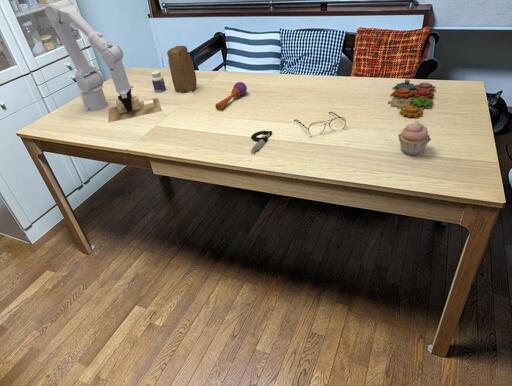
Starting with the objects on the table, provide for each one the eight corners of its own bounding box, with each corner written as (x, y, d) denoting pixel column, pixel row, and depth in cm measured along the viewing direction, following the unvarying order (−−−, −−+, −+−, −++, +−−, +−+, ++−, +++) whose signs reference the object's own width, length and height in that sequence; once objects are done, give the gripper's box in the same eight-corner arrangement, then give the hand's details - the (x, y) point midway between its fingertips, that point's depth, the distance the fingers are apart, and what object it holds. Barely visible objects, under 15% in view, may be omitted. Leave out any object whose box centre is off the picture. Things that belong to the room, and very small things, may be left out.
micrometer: (256, 131, 136) (256, 125, 134) (274, 134, 133) (273, 128, 131) (236, 151, 125) (236, 145, 124) (255, 155, 122) (254, 148, 121)
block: (186, 96, 170) (176, 51, 158) (173, 94, 173) (163, 50, 161) (200, 87, 177) (192, 44, 165) (188, 85, 180) (179, 43, 168)
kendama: (210, 101, 152) (236, 80, 165) (215, 114, 156) (240, 92, 168) (221, 100, 149) (246, 79, 161) (226, 113, 152) (250, 91, 164)
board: (109, 124, 153) (108, 122, 152) (109, 110, 165) (108, 108, 164) (162, 113, 157) (161, 110, 156) (158, 99, 169) (158, 97, 169)
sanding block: (119, 114, 157) (116, 103, 154) (119, 110, 161) (115, 99, 158) (141, 109, 159) (137, 98, 156) (140, 106, 162) (137, 95, 159)
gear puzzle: (431, 122, 129) (433, 111, 126) (383, 118, 135) (384, 107, 132) (434, 88, 151) (436, 78, 149) (393, 86, 157) (394, 76, 154)
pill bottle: (165, 94, 174) (160, 73, 168) (154, 95, 175) (148, 74, 169) (167, 89, 179) (162, 69, 173) (156, 90, 179) (151, 70, 173)
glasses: (308, 138, 128) (307, 124, 125) (293, 125, 141) (292, 112, 138) (346, 129, 130) (346, 116, 128) (328, 117, 143) (328, 105, 140)
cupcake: (420, 141, 118) (426, 112, 112) (433, 156, 111) (439, 126, 105) (391, 144, 118) (395, 115, 112) (401, 159, 111) (406, 130, 105)
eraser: (145, 108, 160) (144, 104, 158) (144, 105, 163) (143, 101, 161) (154, 106, 160) (153, 102, 159) (153, 103, 163) (152, 99, 162)
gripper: (130, 80, 146) (139, 112, 154) (128, 70, 158) (138, 100, 166) (111, 84, 145) (122, 116, 153) (112, 73, 156) (122, 103, 164)
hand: (129, 108), depth 159 cm, fingers closed on sanding block, 4 cm apart
